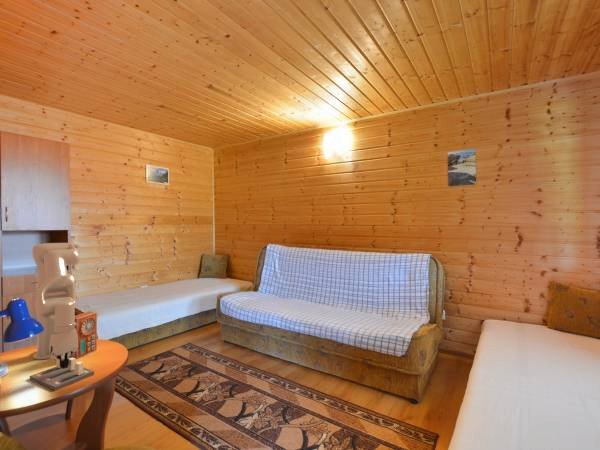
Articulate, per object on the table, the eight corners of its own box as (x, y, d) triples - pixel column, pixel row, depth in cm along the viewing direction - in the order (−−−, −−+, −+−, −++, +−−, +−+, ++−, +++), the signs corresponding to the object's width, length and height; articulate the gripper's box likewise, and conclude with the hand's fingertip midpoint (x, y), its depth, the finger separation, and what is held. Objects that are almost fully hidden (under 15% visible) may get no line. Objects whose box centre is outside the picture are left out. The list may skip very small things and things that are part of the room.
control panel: (99, 349, 175) (75, 360, 161) (89, 348, 177) (64, 359, 162) (100, 311, 175) (76, 319, 161) (89, 310, 177) (64, 318, 162)
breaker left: (56, 366, 150) (56, 356, 150) (61, 365, 151) (61, 354, 151) (60, 368, 148) (60, 357, 148) (64, 366, 150) (64, 356, 150)
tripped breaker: (67, 369, 147) (67, 358, 147) (72, 367, 149) (72, 357, 149) (71, 370, 146) (71, 360, 146) (75, 369, 148) (75, 358, 148)
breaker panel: (29, 379, 141) (29, 375, 141) (68, 365, 156) (68, 361, 156) (55, 390, 132) (55, 386, 132) (94, 374, 146) (94, 371, 146)
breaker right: (74, 373, 143) (74, 362, 143) (79, 371, 145) (79, 361, 145) (78, 375, 142) (78, 364, 142) (83, 373, 144) (83, 362, 143)
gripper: (77, 322, 153) (77, 359, 153) (41, 331, 139) (40, 372, 139) (86, 324, 149) (86, 362, 150) (50, 334, 136) (49, 376, 136)
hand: (64, 367), depth 144 cm, fingers closed
